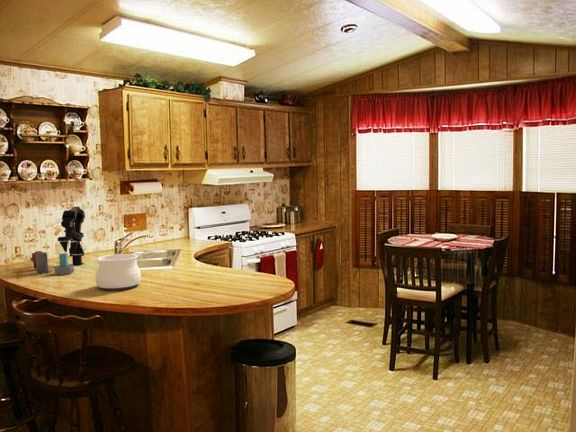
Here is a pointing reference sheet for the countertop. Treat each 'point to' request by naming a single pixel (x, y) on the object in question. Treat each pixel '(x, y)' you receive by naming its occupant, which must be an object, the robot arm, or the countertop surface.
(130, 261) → the pot
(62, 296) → the countertop surface
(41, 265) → the round bit
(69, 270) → the block
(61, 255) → the square bit
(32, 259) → the mechanical component
